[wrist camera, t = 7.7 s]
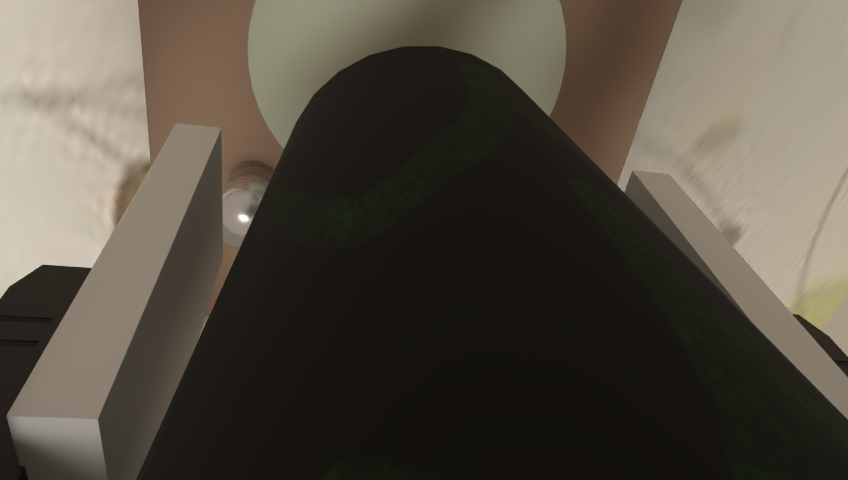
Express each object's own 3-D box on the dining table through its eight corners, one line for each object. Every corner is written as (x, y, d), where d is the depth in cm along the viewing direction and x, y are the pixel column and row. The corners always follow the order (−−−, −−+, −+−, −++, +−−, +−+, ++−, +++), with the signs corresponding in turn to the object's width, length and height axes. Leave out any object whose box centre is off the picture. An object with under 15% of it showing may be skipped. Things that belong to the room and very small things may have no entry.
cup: (624, 255, 16) (1116, 1055, 6) (328, 353, 16) (288, 1202, 6) (549, -81, 11) (1988, 676, 1) (159, 75, 12) (-723, 1245, 2)
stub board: (761, -309, 16) (865, -339, 13) (552, 313, 27) (580, 384, 24) (123, -458, 14) (48, -541, 11) (172, 287, 25) (143, 361, 21)
